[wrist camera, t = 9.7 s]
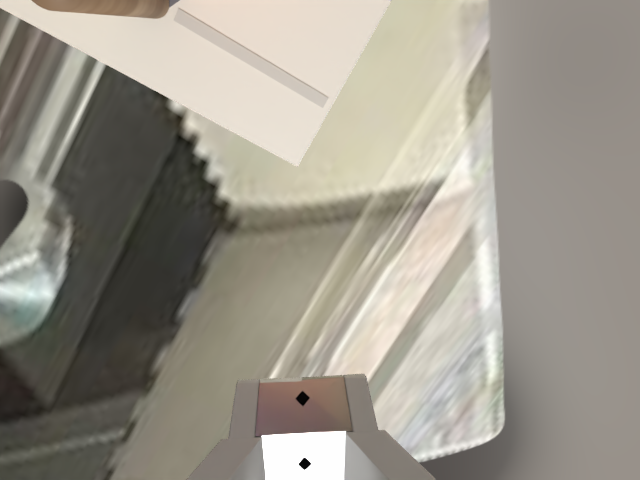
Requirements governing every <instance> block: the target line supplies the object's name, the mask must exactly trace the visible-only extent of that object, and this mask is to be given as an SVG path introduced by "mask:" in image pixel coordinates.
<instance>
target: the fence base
mask: <svg viewBox="0 0 640 480" xmlns="http://www.w3.org/2000/svg"><path fill="white" fill-rule="evenodd" d="M32 1H33V2H34V3H35V4H36V5H38V6H40V7H41V8H43V9H46V10H50V11H59V12H72V13H86V14H99V15H113V16H126V17H139V18H153V19H158V18H162V17H163V16H165V15H166V14H167V12H168V10H169V0H32Z"/></svg>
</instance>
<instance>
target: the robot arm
mask: <svg viewBox="0 0 640 480" xmlns="http://www.w3.org/2000/svg"><path fill="white" fill-rule="evenodd" d="M186 480H436V479H435V478H434V477H433V476H432V475H431V474H430V473H429V472H428V471H427V470H426V469H425V468H424V467H422V466H421V465H420V464H419V463H418V462H417V461H416V460H415V459H414V458H413V457H412V456H411V455H410V454H409V453H408V452H407V451H406V450H405V449H404V448H403V447H402V446H401V445H400V444H399V443H398V442H397V441H396V440H394V439H393V438H392V437H391V436H390V435H389V434H388V433H387V432H386V431H385V430H378V427H377V422H376V418H375V414H374V409H373V405H372V400H371V396H370V392H369V387H368V383H367V378H366V376H365V375H364V374H351V375H337V376H320V377H302V378H273V379H253V380H238V382H237V384H236V390H235V397H234V403H233V410H232V417H231V424H230V431H229V437H228V439H222V440H221V441H220V442H219V443H218V444H217V445H216V446H215V447H214V449H213V450H212V451H211V452H210V453H209V454H208V455H207V457H206V458H205V459H204V460H203V461H202V462H201V463H200V465H199V466H198V467H197V468H196V469H195V470H194V471H193V472H192V474H191V475H190V476H189V477H188V478H187V479H186Z"/></svg>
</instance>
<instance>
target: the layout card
mask: <svg viewBox="0 0 640 480" xmlns="http://www.w3.org/2000/svg"><path fill="white" fill-rule="evenodd" d="M391 1H392V0H169V10H168V12H167V14H166V15H165V16H163V17H162V18H158V19H153V18H139V17H126V16H113V15H99V14H86V13H72V12H59V11H50V10H46V9H43V8H41V7H40V6H38V5H36V4H35V3H34V2H33V1H32V0H0V8H2V9H3V10H5V11H7V12H9V13H11V14H13V15H15V16H17V17H18V18H20V19H22V20H24V21H26V22H28V23H30V24H31V25H33V26H35V27H37V28H39V29H41V30H43V31H45V32H46V33H48V34H50V35H52V36H54V37H56V38H58V39H60V40H61V41H63V42H65V43H67V44H69V45H71V46H73V47H74V48H76V49H78V50H80V51H82V52H84V53H86V54H88V55H89V56H91V57H93V58H95V59H97V60H99V61H101V62H103V63H104V64H106V65H108V66H110V67H112V68H114V69H116V70H118V71H119V72H121V73H123V74H125V75H127V76H129V77H131V78H132V79H134V80H136V81H138V82H140V83H142V84H144V85H146V86H147V87H149V88H151V89H153V90H155V91H157V92H159V93H161V94H162V95H164V96H166V97H168V98H170V99H172V100H174V101H175V102H177V103H179V104H181V105H183V106H185V107H187V108H189V109H190V110H192V111H194V112H196V113H198V114H200V115H202V116H204V117H205V118H207V119H209V120H211V121H213V122H215V123H217V124H218V125H220V126H222V127H224V128H226V129H228V130H230V131H232V132H233V133H235V134H237V135H239V136H241V137H243V138H245V139H247V140H248V141H250V142H252V143H254V144H256V145H258V146H260V147H261V148H263V149H265V150H267V151H269V152H271V153H273V154H275V155H276V156H278V157H280V158H282V159H284V160H286V161H288V162H290V163H291V164H293V165H295V166H297V167H298V165H299V164H300V162H301V160H302V158H303V157H304V155H305V153H306V151H307V149H308V148H309V146H310V144H311V142H312V141H313V139H314V137H315V135H316V134H317V132H318V130H319V128H320V126H321V125H322V123H323V121H324V119H325V118H326V116H327V114H328V112H329V110H330V109H331V107H332V105H333V103H334V102H335V100H336V98H337V96H338V95H339V93H340V91H341V89H342V87H343V86H344V84H345V82H346V80H347V79H348V77H349V75H350V73H351V71H352V70H353V68H354V66H355V64H356V63H357V61H358V59H359V57H360V56H361V54H362V52H363V50H364V48H365V47H366V45H367V43H368V41H369V40H370V38H371V36H372V34H373V33H374V31H375V29H376V27H377V25H378V24H379V22H380V20H381V18H382V17H383V15H384V13H385V11H386V9H387V8H388V6H389V4H390V2H391Z"/></svg>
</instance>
